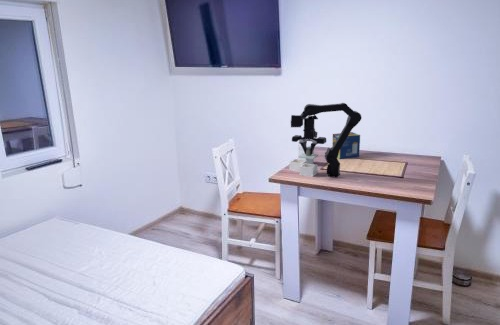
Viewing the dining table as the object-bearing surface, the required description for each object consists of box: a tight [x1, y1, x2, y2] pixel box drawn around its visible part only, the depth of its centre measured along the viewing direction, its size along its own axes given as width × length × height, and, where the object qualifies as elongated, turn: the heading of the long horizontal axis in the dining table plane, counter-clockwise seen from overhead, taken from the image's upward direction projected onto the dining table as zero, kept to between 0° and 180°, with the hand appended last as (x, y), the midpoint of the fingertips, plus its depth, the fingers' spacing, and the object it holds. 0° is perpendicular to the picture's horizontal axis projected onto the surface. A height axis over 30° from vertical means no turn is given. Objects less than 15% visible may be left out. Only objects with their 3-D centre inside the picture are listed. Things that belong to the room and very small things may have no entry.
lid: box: [299, 148, 319, 160], centre depth 211 cm, size 9×9×5 cm
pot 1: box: [289, 158, 307, 172], centre depth 224 cm, size 8×8×6 cm
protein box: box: [331, 131, 361, 160], centre depth 253 cm, size 10×15×16 cm
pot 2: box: [298, 163, 318, 178], centre depth 214 cm, size 8×8×6 cm
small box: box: [297, 144, 315, 164], centre depth 234 cm, size 8×6×13 cm
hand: (308, 154), depth 212 cm, fingers closed on lid, 3 cm apart
